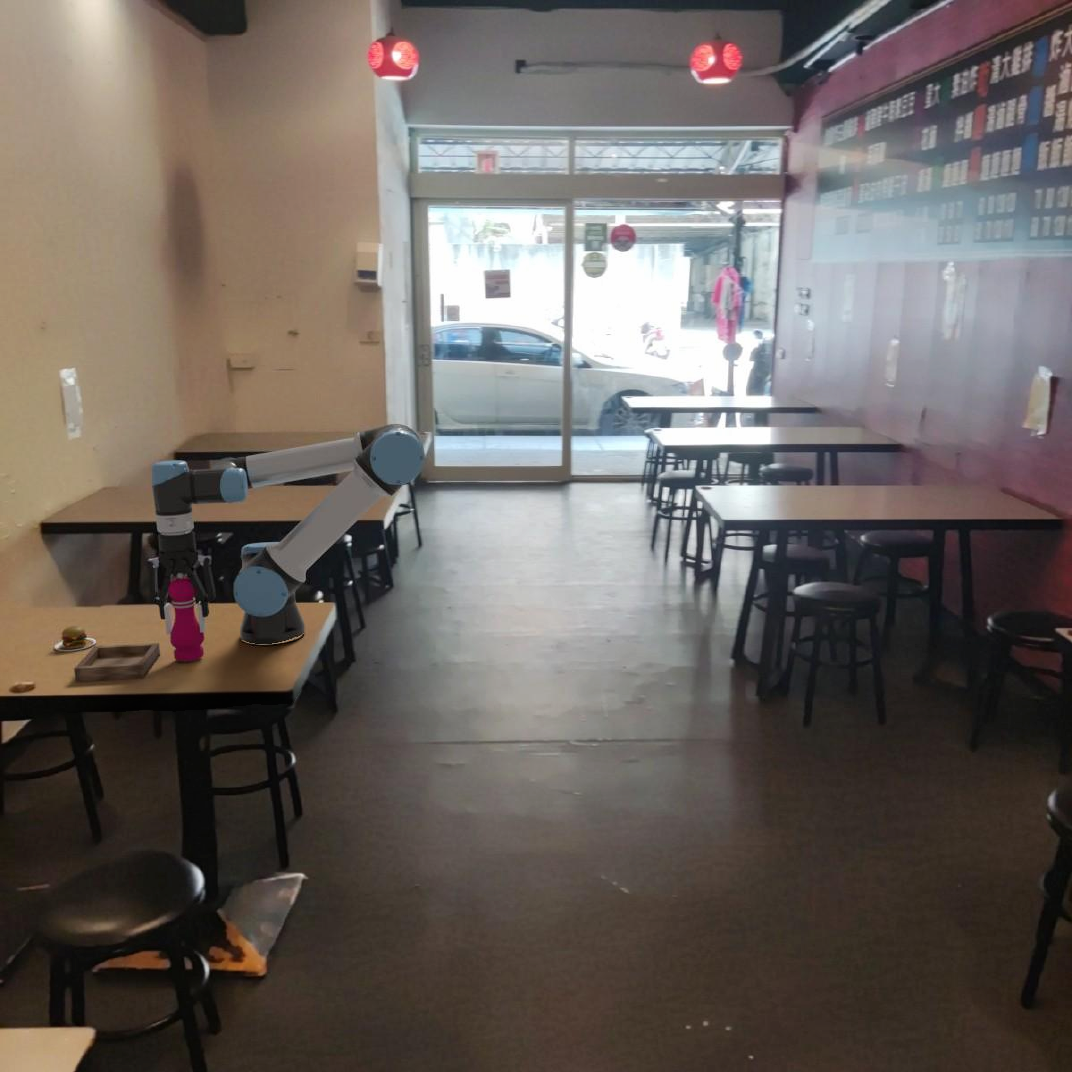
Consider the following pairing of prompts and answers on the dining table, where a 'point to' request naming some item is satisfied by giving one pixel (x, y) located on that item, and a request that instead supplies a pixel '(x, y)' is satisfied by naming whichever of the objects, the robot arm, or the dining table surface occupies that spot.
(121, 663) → the walnut tray
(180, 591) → the pepper mill
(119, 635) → the dining table surface
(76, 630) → the hamburger
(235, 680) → the dining table surface
